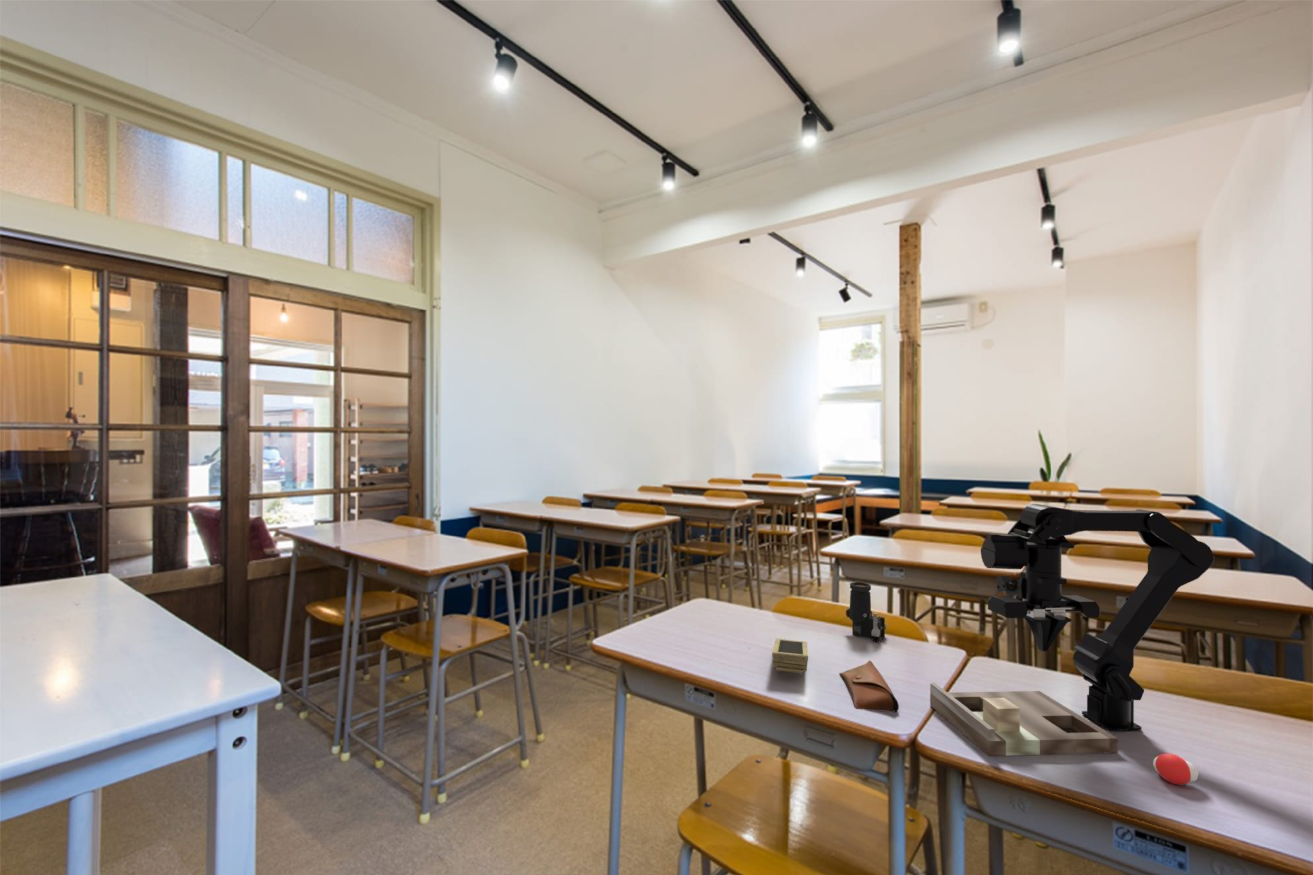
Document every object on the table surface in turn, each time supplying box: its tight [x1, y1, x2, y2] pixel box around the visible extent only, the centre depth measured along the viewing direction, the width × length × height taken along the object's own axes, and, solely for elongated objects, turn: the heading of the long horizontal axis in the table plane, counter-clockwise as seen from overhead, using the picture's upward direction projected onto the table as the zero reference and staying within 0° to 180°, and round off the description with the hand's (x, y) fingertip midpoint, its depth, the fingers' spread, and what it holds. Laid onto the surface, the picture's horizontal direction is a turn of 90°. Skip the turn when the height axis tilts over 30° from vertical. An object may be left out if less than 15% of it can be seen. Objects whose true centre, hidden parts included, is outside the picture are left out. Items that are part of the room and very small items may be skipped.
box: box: [771, 638, 809, 674], centre depth 132 cm, size 8×22×5 cm, turn 167°
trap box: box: [929, 682, 1119, 757], centre depth 103 cm, size 23×18×4 cm
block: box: [983, 698, 1020, 732], centre depth 99 cm, size 4×4×4 cm
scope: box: [845, 581, 887, 643], centre depth 152 cm, size 8×14×10 cm
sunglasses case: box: [838, 659, 900, 713], centre depth 118 cm, size 18×7×7 cm
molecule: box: [1152, 753, 1199, 786], centre depth 87 cm, size 5×5×4 cm
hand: (1042, 650), depth 107 cm, fingers closed
